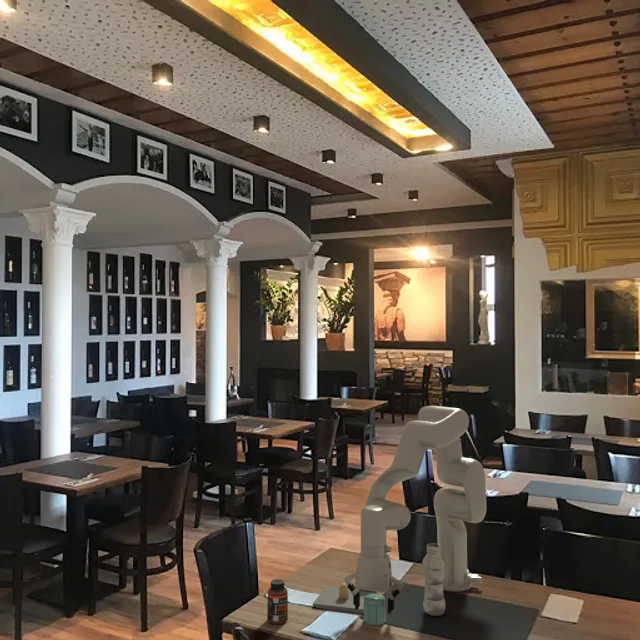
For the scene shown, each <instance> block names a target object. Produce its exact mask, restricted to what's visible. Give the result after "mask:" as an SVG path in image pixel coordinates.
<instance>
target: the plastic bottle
mask: <svg viewBox="0 0 640 640" xmlns="http://www.w3.org/2000/svg"><path fill="white" fill-rule="evenodd" d="M439 553H440V550H439V545H438V543H428V544H427V545H426V555H425V556H424V557H423V560H422V570H423V575H424V595H423V596H424V597H423V601H422V602H423V603H422V605H423V611H424V612H425V613H426V614H427V615H429V616H432V617H438V616H439V617H441V616H442V615H444V613H445V611H446V607H447V606H446V599H445V595H444V594H445V593H444V590H443V574H444V561H443V559H442V557H441V556H440V555H439Z"/></svg>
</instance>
